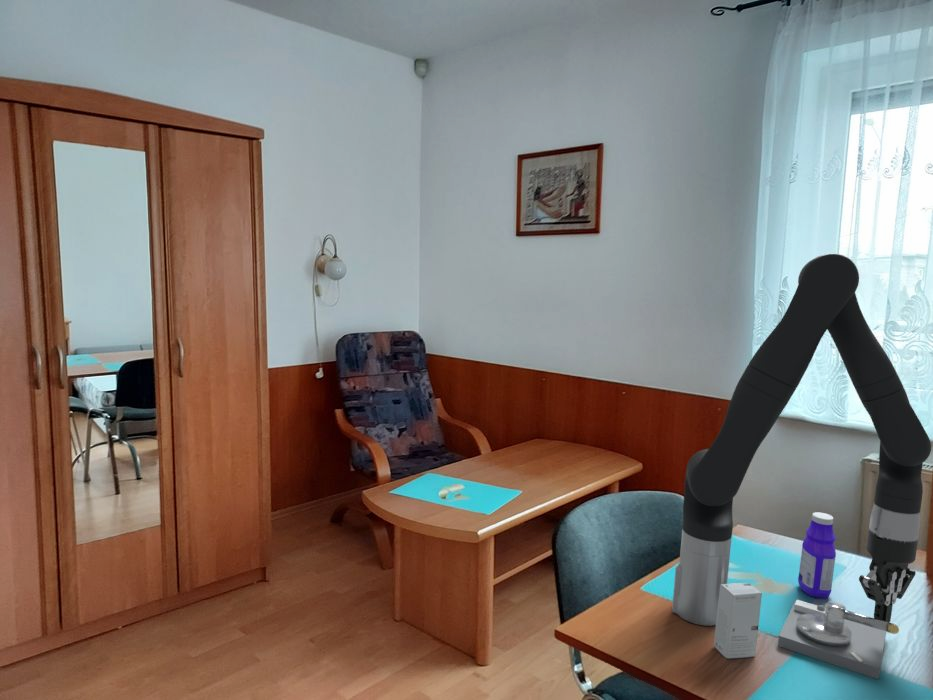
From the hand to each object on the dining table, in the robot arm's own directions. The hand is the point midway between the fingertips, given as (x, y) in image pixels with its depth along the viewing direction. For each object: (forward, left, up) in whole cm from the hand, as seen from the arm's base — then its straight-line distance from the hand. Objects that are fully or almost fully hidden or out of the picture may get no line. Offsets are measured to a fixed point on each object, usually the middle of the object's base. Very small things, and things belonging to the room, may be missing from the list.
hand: (881, 621), depth 123 cm
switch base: (-7, -2, -6) cm, 10 cm away
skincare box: (-21, -17, -6) cm, 28 cm away
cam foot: (-5, -4, -4) cm, 8 cm away
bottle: (-13, +18, -6) cm, 23 cm away
